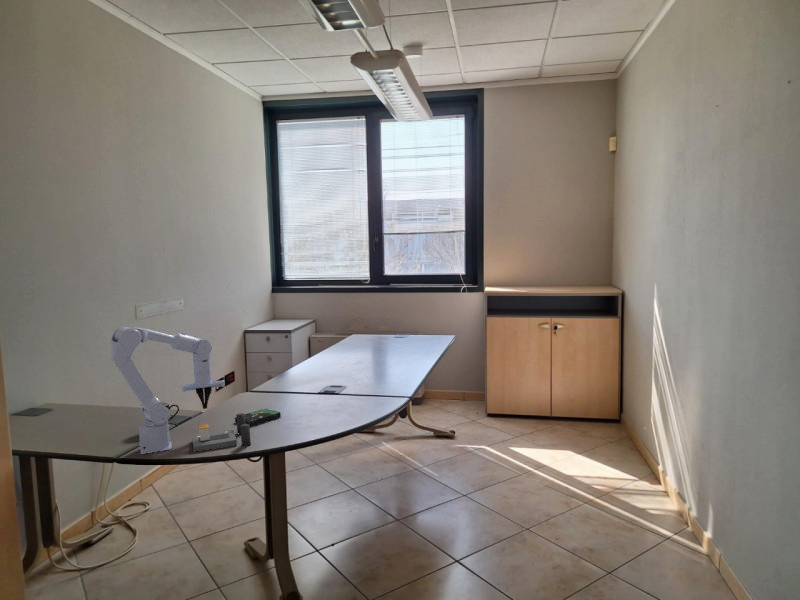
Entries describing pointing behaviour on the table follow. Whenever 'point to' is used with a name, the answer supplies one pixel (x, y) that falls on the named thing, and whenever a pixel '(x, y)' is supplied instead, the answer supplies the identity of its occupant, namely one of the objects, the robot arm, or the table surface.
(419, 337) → the table surface
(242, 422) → the cylinder
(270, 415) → the disk drive
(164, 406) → the coffee mug
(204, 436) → the block
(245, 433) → the post
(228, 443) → the breaker panel
